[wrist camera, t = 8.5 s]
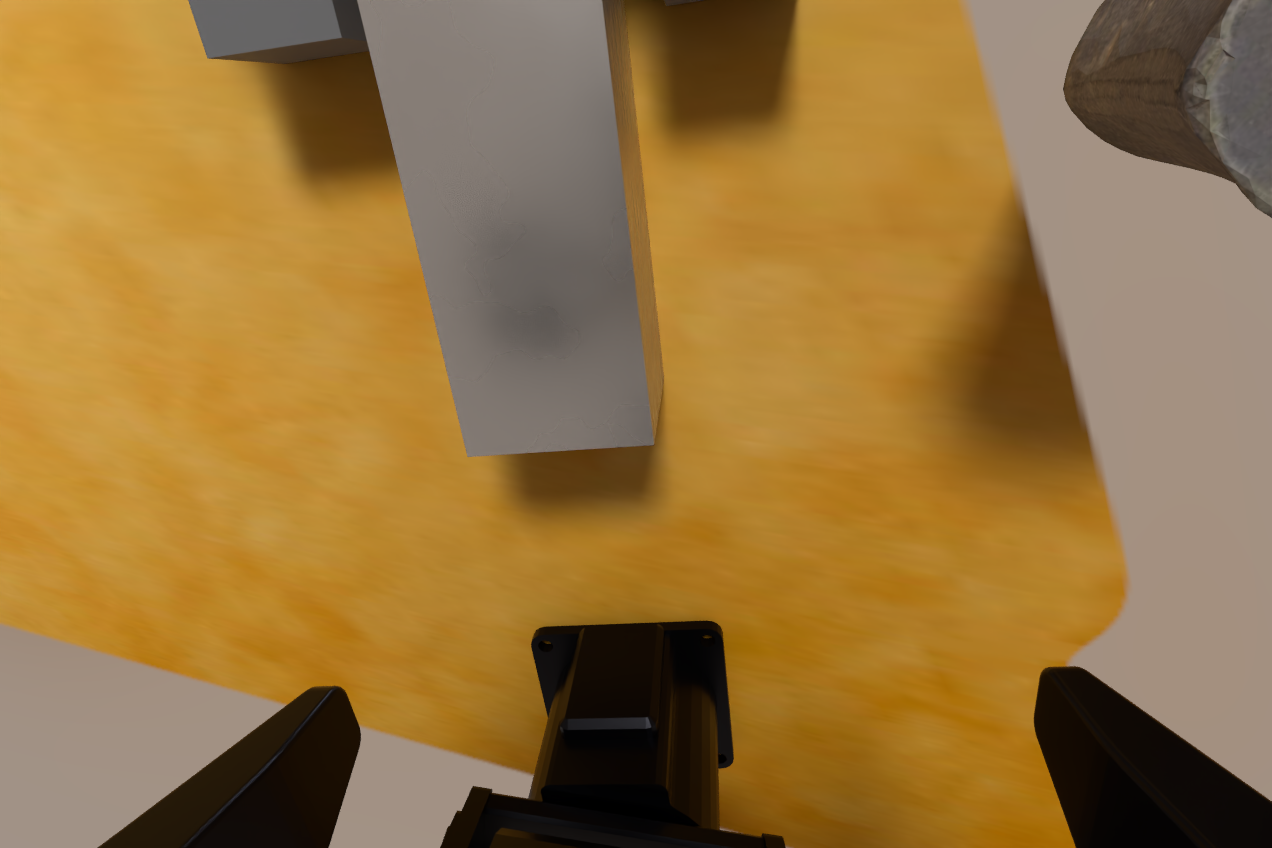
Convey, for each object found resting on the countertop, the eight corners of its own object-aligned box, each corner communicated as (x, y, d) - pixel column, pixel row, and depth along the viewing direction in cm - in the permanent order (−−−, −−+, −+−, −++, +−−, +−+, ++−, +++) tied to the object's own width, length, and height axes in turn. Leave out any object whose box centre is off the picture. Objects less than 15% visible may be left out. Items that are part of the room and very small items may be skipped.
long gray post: (664, 374, 20) (654, 445, 16) (513, 386, 21) (467, 456, 17) (610, -138, 15) (576, -220, 11) (414, -104, 16) (315, -171, 12)
